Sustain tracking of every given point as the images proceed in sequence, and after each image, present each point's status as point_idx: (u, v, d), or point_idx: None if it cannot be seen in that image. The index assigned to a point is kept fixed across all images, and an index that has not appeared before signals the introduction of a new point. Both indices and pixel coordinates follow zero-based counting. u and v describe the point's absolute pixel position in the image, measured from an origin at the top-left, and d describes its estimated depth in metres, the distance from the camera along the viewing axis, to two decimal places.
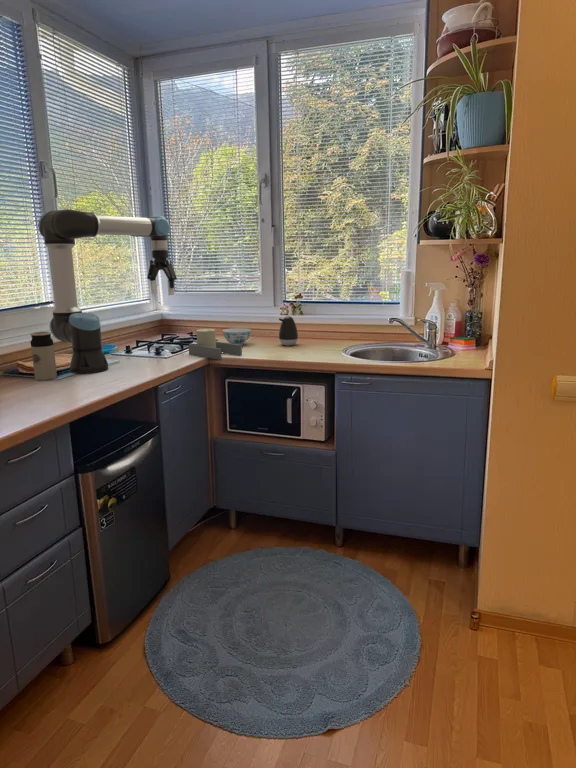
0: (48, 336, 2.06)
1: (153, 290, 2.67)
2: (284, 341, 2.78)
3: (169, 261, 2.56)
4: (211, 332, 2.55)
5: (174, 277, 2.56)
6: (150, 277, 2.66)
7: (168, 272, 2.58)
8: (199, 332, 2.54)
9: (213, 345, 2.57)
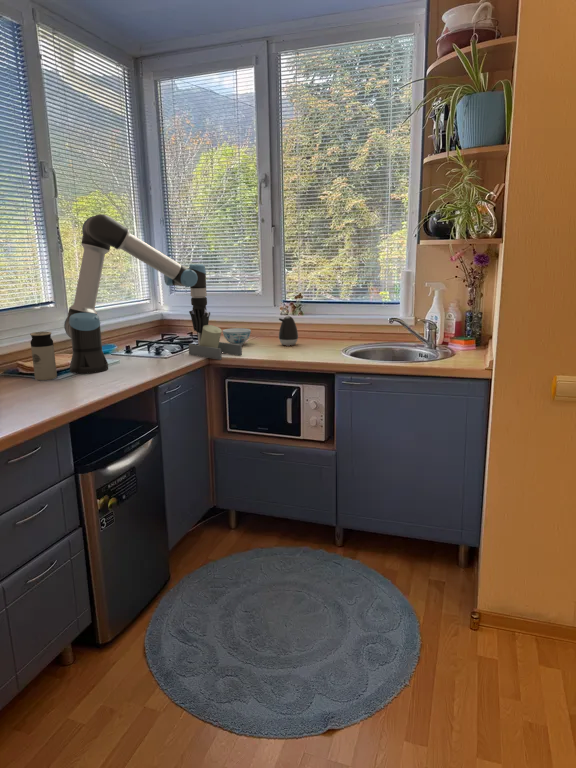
0: (48, 336, 2.06)
1: None
2: (284, 341, 2.78)
3: (208, 314, 2.55)
4: (217, 334, 2.53)
5: None
6: (196, 329, 2.61)
7: (202, 323, 2.59)
8: (205, 331, 2.52)
9: (216, 346, 2.56)
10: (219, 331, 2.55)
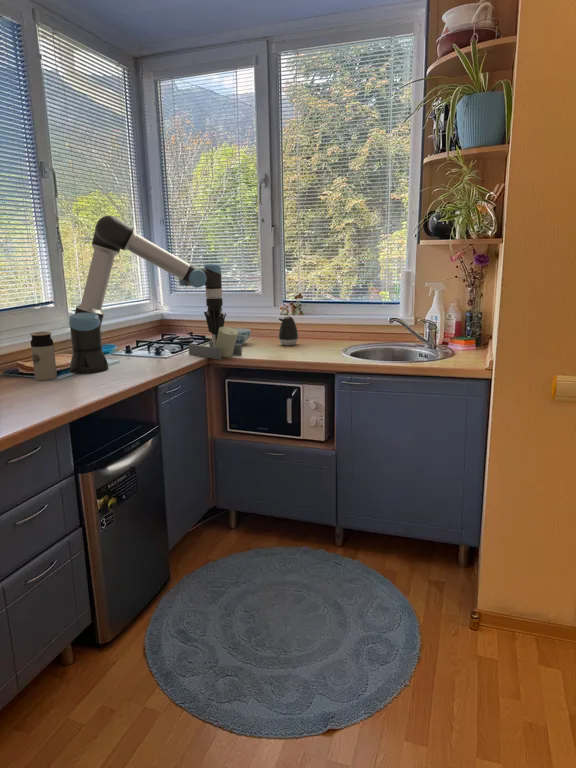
0: (48, 336, 2.06)
1: None
2: (284, 341, 2.78)
3: (224, 315, 2.49)
4: (233, 336, 2.46)
5: None
6: (211, 330, 2.54)
7: None
8: (221, 333, 2.45)
9: (232, 348, 2.50)
10: (235, 333, 2.48)
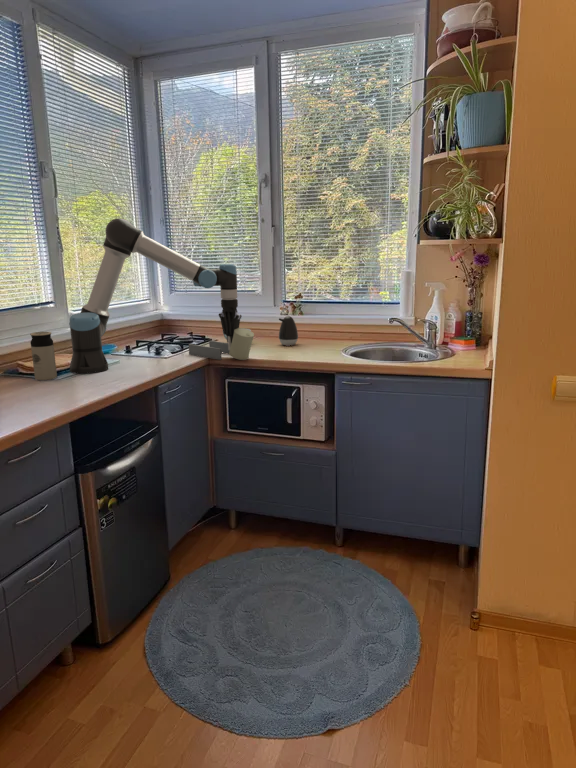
0: (48, 336, 2.06)
1: None
2: (284, 341, 2.78)
3: (239, 317, 2.42)
4: (249, 338, 2.40)
5: None
6: (226, 332, 2.48)
7: None
8: (237, 335, 2.39)
9: (248, 350, 2.43)
10: (251, 335, 2.42)
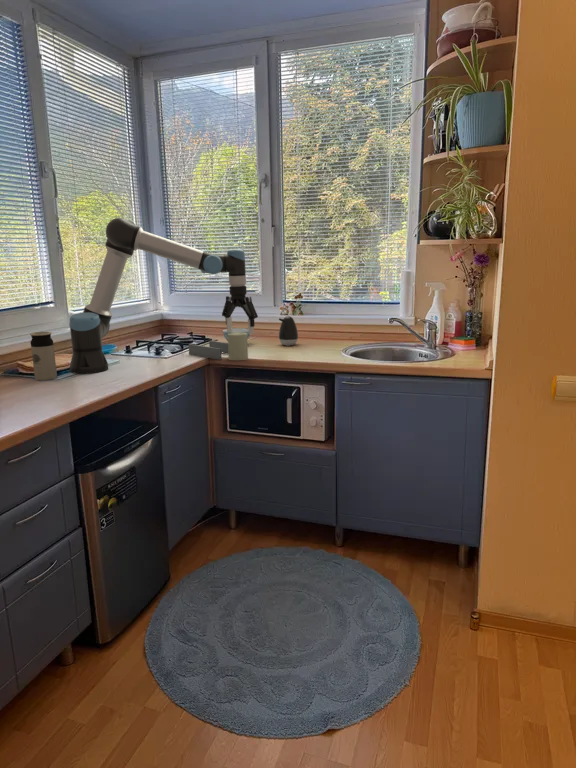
0: (48, 336, 2.06)
1: (228, 328, 2.46)
2: (284, 341, 2.78)
3: (249, 298, 2.35)
4: (243, 336, 2.42)
5: (255, 315, 2.35)
6: (225, 314, 2.45)
7: (248, 310, 2.37)
8: (231, 336, 2.41)
9: (245, 350, 2.44)
10: (245, 334, 2.44)
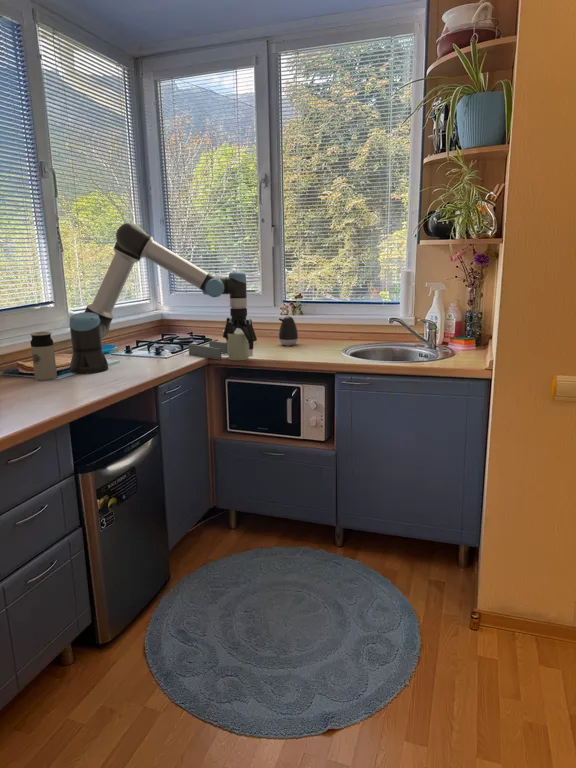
0: (48, 336, 2.06)
1: None
2: (284, 341, 2.78)
3: (249, 321, 2.38)
4: (244, 336, 2.42)
5: (254, 338, 2.38)
6: (226, 336, 2.47)
7: (247, 332, 2.40)
8: (231, 336, 2.41)
9: (245, 349, 2.44)
10: None
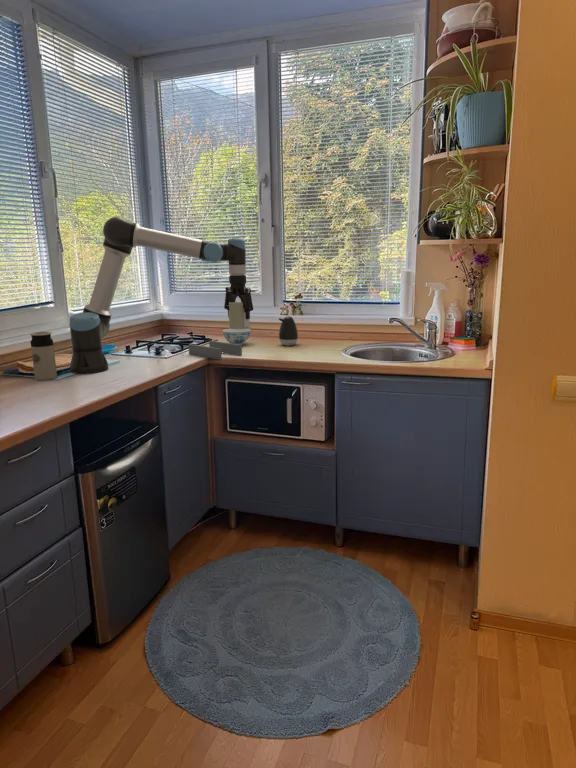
0: (48, 336, 2.06)
1: None
2: (284, 341, 2.78)
3: (248, 290, 2.34)
4: None
5: (251, 308, 2.35)
6: (227, 307, 2.43)
7: (245, 301, 2.37)
8: (232, 304, 2.37)
9: None
10: None
